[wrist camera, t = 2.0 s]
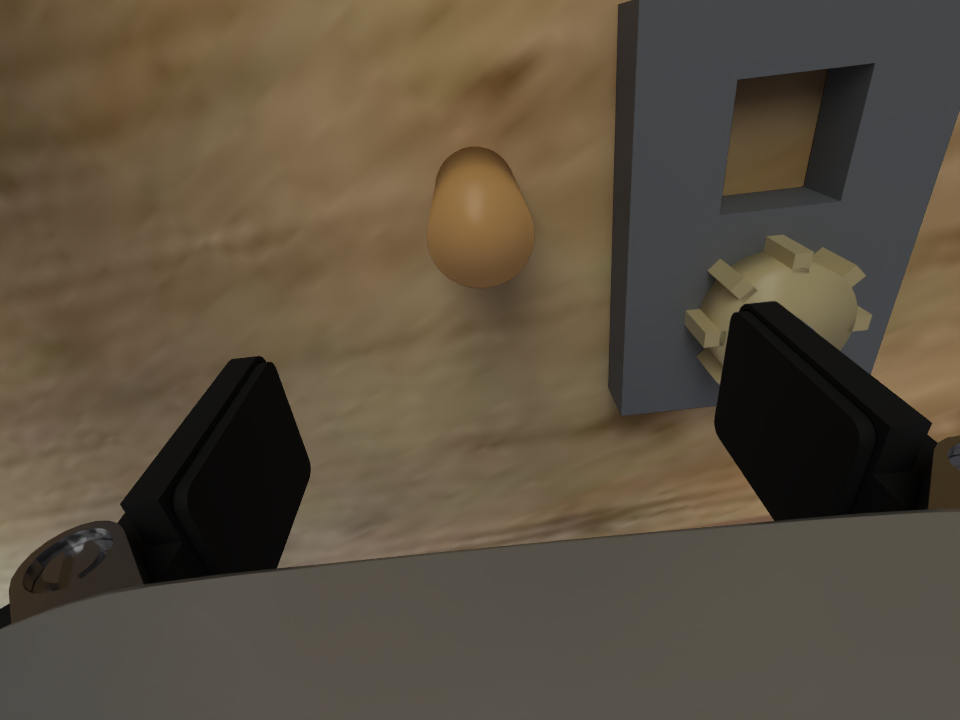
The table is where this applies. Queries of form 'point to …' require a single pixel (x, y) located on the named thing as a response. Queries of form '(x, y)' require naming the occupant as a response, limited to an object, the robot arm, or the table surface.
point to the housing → (778, 213)
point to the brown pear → (479, 220)
